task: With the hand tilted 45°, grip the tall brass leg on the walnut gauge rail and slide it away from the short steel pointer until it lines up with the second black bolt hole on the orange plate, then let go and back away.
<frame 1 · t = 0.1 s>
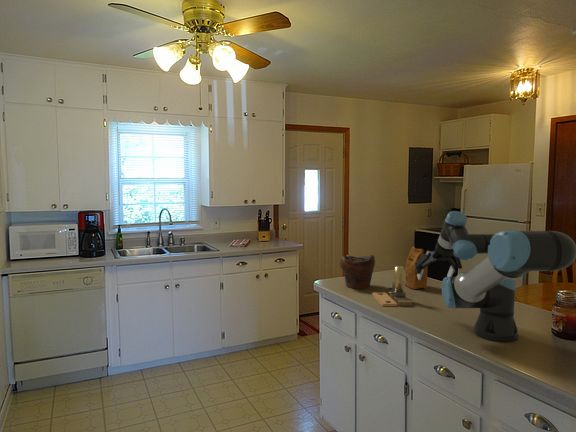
hand: (433, 277, 190), 15 cm above the worktop, tool tilted 35°, fingers open, 13 cm apart
brass leg: (397, 281, 209), point 9 cm above the worktop, slide at 0.0 cm
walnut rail: (399, 300, 209), on the worktop
coffee package: (415, 287, 235), on the worktop
brown basket: (357, 286, 236), on the worktop
orange bolt plate: (384, 300, 208), on the worktop
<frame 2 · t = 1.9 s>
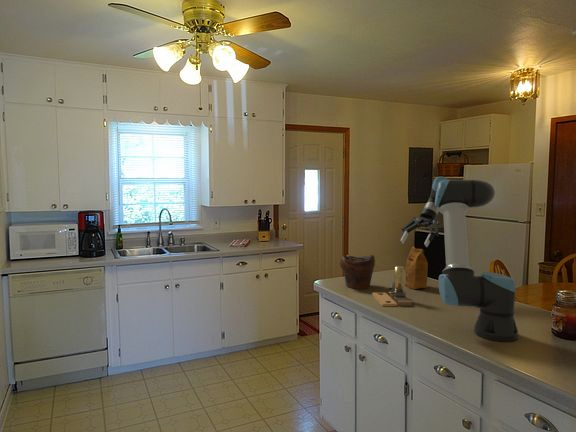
hand: (413, 243, 215), 27 cm above the worktop, tool tilted 45°, fingers open, 13 cm apart
nothing on the worktop moved.
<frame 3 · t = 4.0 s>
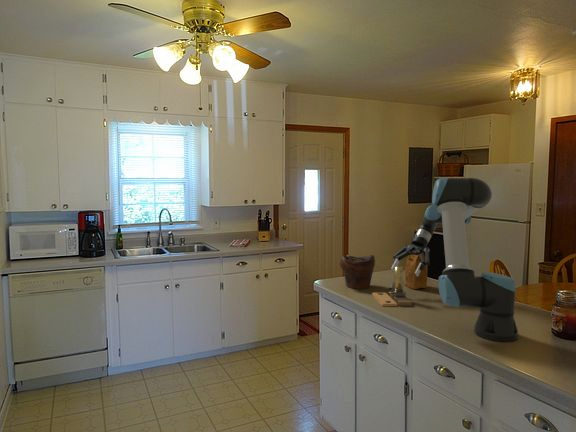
hand: (404, 272, 213), 13 cm above the worktop, tool tilted 45°, fingers open, 13 cm apart
nothing on the worktop moved.
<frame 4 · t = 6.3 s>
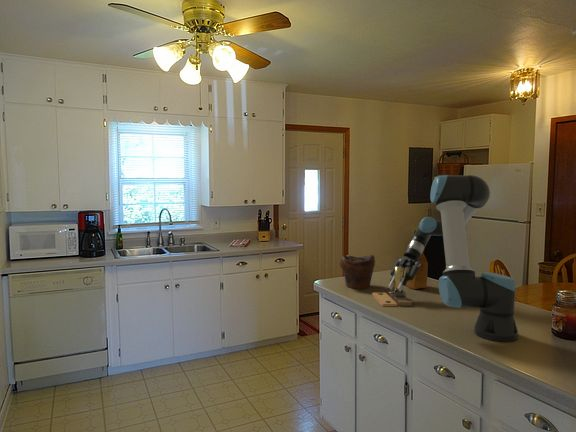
hand: (394, 288, 207), 6 cm above the worktop, tool tilted 45°, fingers closed on brass leg, 4 cm apart
brass leg: (397, 281, 209), point 9 cm above the worktop, slide at 0.0 cm, touching gripper
everything else where it was.
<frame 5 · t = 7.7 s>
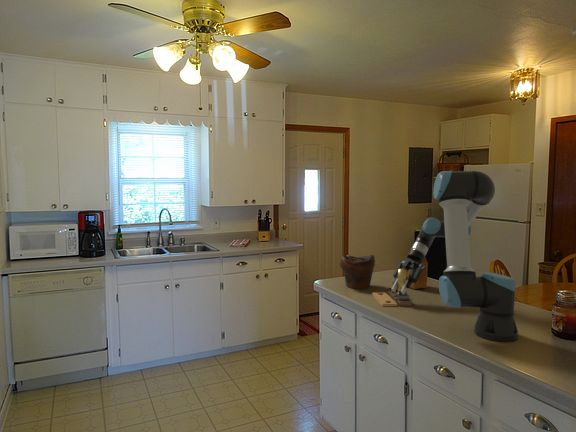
hand: (397, 291, 201), 6 cm above the worktop, tool tilted 45°, fingers closed on brass leg, 4 cm apart
brass leg: (401, 283, 204), point 9 cm above the worktop, slide at 5.2 cm, touching gripper
everything else where it was.
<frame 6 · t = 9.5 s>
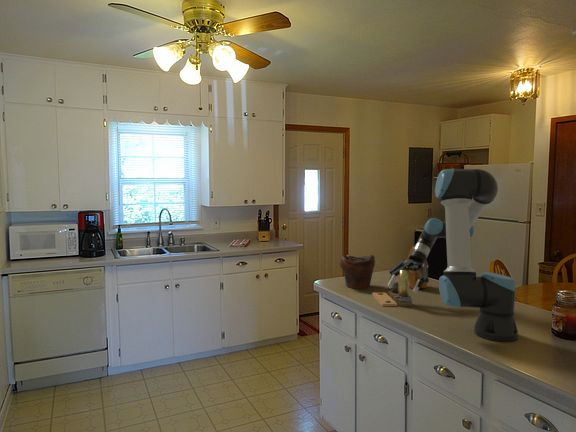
hand: (401, 289, 199), 7 cm above the worktop, tool tilted 45°, fingers open, 13 cm apart
brass leg: (403, 285, 201), point 9 cm above the worktop, slide at 8.0 cm
everything else where it was.
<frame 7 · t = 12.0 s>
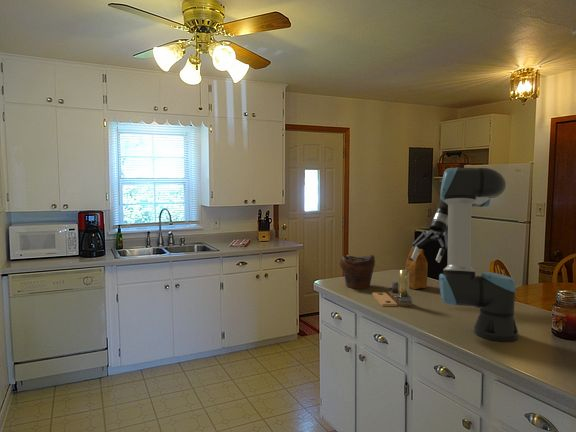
hand: (424, 260, 205), 20 cm above the worktop, tool tilted 40°, fingers open, 13 cm apart
nothing on the worktop moved.
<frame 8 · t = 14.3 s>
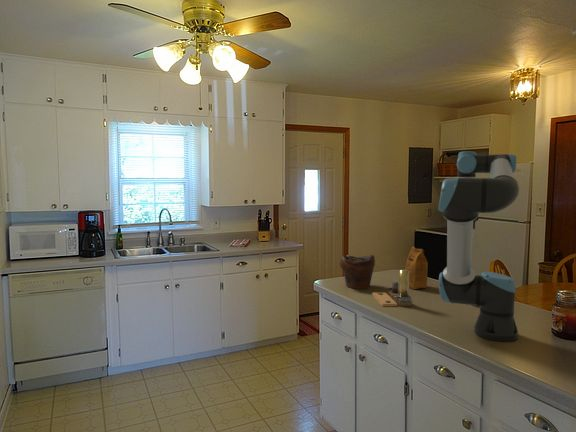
hand: (463, 234, 190), 35 cm above the worktop, tool pointing down, fingers open, 13 cm apart
nothing on the worktop moved.
at the end: brass leg slide at 8.0 cm; the gripper is holding nothing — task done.
